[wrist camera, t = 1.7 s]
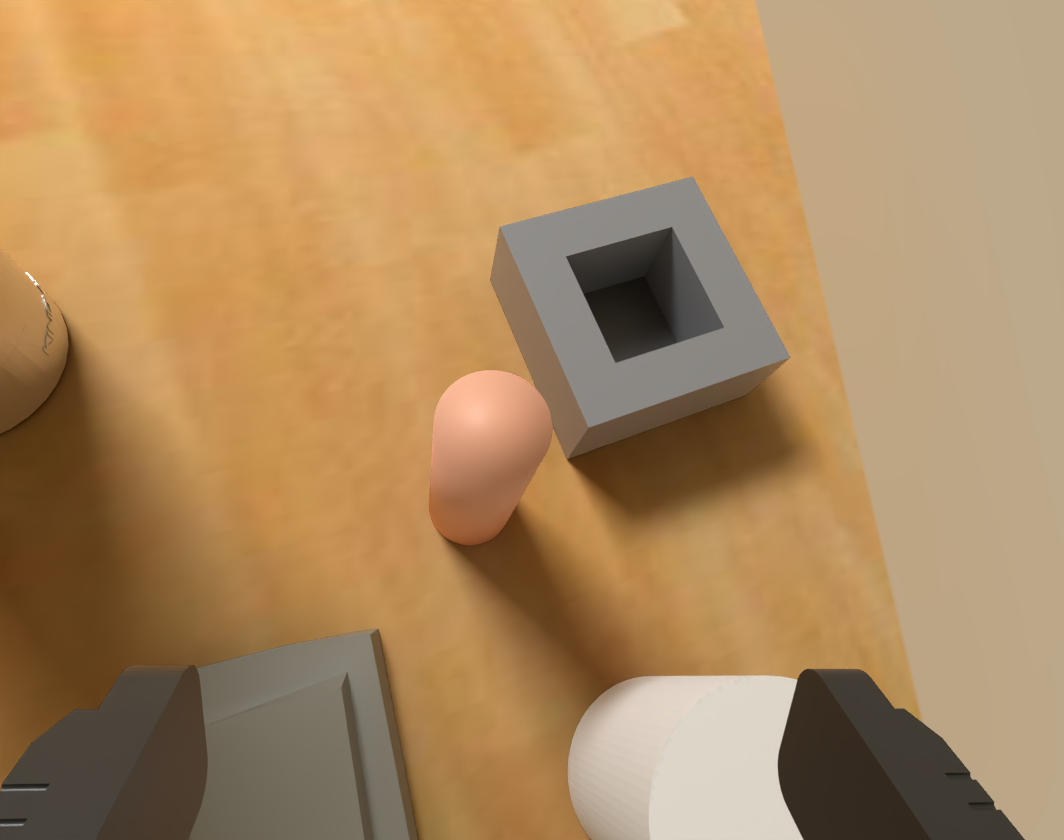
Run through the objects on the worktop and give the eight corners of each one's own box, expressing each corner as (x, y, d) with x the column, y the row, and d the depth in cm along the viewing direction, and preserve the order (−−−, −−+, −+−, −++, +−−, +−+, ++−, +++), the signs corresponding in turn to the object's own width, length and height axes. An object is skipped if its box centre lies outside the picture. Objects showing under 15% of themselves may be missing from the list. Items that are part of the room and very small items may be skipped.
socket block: (567, 459, 37) (588, 427, 32) (490, 279, 40) (499, 226, 35) (746, 394, 40) (790, 357, 35) (662, 231, 42) (692, 176, 38)
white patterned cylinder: (773, 819, 32) (959, 894, 21) (616, 912, 30) (733, 1051, 19) (690, 647, 34) (820, 632, 23) (538, 723, 32) (602, 748, 21)
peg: (445, 557, 34) (458, 499, 23) (417, 481, 35) (417, 390, 24) (522, 528, 35) (570, 459, 24) (493, 454, 36) (526, 356, 25)
